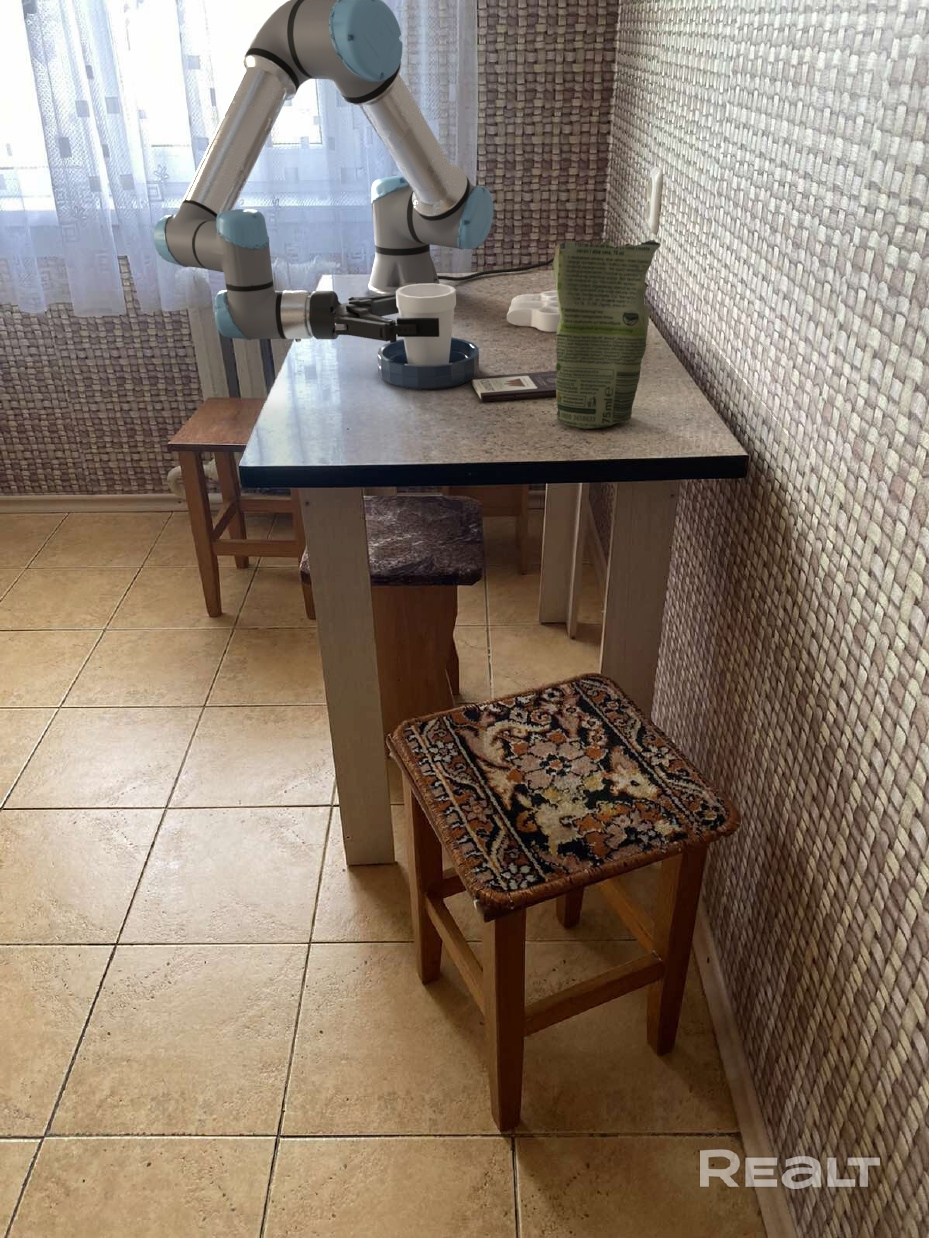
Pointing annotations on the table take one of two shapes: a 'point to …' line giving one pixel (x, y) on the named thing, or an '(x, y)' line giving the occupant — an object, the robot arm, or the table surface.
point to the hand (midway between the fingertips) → (443, 315)
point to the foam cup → (428, 304)
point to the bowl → (428, 366)
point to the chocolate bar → (515, 386)
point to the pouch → (600, 330)
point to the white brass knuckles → (535, 311)
